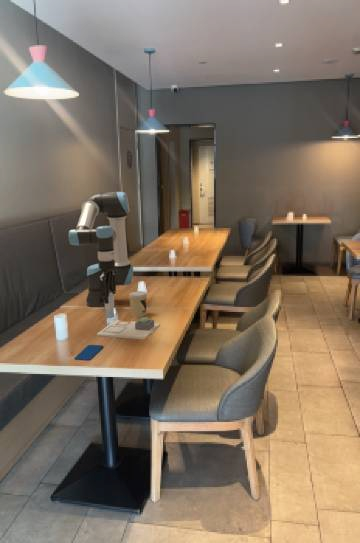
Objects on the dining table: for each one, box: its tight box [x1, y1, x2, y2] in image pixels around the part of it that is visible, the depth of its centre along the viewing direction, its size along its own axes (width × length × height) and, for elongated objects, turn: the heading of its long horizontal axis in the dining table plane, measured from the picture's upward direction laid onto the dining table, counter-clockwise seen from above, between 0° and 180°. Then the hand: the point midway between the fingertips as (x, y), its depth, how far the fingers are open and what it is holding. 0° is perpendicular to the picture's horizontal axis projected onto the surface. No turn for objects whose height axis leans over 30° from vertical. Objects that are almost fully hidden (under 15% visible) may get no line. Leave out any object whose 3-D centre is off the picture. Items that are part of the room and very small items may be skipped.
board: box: [96, 318, 160, 340], centre depth 216 cm, size 24×20×4 cm
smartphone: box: [74, 344, 104, 361], centre depth 190 cm, size 7×1×15 cm
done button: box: [139, 316, 150, 323], centre depth 216 cm, size 4×4×3 cm
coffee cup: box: [128, 290, 148, 318], centre depth 239 cm, size 9×9×12 cm
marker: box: [105, 290, 115, 319], centre depth 212 cm, size 4×4×13 cm
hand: (109, 308), depth 212 cm, fingers closed on marker, 3 cm apart
